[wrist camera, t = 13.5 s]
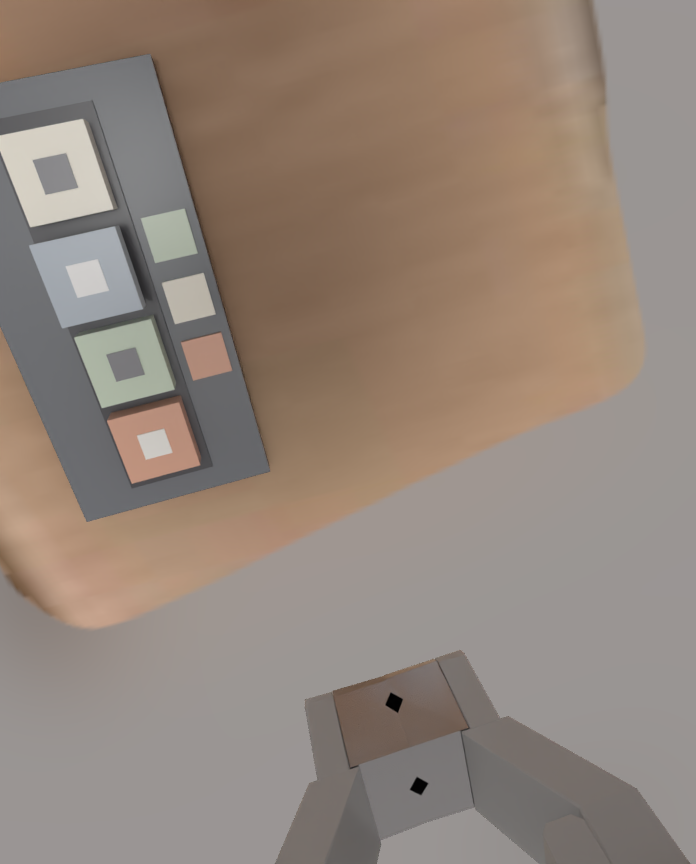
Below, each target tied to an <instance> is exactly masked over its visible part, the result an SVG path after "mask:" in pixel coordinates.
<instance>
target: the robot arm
mask: <svg viewBox="0 0 696 864" xmlns="http://www.w3.org/2000/svg"><path fill="white" fill-rule="evenodd" d="M305 711H306V716H307V722H308V728H309V734H310V740H311V746H312V751H313V757H314V763H315V769H316V774H317V781H314V782H311V783H309V785H308V787H307V790H306V792H305V795H304V797H303V799H302V801H301V804H300V806H299V808H298V811H297V813H296V816H295V818H294V820H293V823H292V825H291V827H290V830H289V832H288V834H287V837H286V839H285V841H284V844H283V846H282V848H281V851H280V853H279V855H278V858H277V860H276V863H275V864H377V860H378V856H379V851H380V847H381V841H380V840H383V839H385V838H388V837H391V836H393V835H396V834H398V833H401V832H403V831H406V830H409V829H411V828H414V827H416V826H419V825H421V824H424V823H427V822H429V821H433V820H436V819H439V818H442V817H445V816H448V815H452V814H455V813H458V812H461V811H464V810H467V809H471V808H474V807H475V809H476V810H477V811H478V812H479V813H480V814H481V815H482V816H483V817H485V818H486V819H487V820H488V821H489V822H491V823H492V824H493V825H494V826H495V827H497V828H498V829H499V830H500V831H501V832H502V833H504V834H505V835H506V836H507V837H508V838H509V839H511V840H512V841H513V842H514V843H515V844H517V845H518V846H519V847H520V848H521V849H522V850H524V851H525V852H526V853H527V854H528V855H530V856H531V857H532V858H533V859H534V860H535V861H537V862H538V863H539V864H690V862H689V861H688V860H687V859H686V857H685V855H684V854H683V853H682V851H681V850H680V848H679V847H678V846H677V844H676V843H675V842H674V840H673V839H672V837H671V836H670V835H669V833H668V832H667V830H666V829H665V827H664V826H663V825H662V823H661V822H660V820H659V819H658V818H657V816H656V815H655V813H654V812H653V811H652V809H651V808H650V806H649V805H648V804H647V802H646V801H645V799H644V798H643V797H642V795H641V794H640V792H639V791H638V790H637V788H635V787H633V786H631V785H630V784H628V783H626V782H624V781H622V780H621V779H619V778H617V777H615V776H614V775H612V774H610V773H608V772H606V771H605V770H603V769H601V768H599V767H598V766H596V765H594V764H592V763H590V762H589V761H587V760H585V759H583V758H582V757H580V756H578V755H576V754H574V753H573V752H571V751H569V750H568V749H566V748H564V747H562V746H560V745H559V744H557V743H555V742H553V741H551V740H550V739H548V738H546V737H544V736H543V735H541V734H539V733H537V732H536V731H534V730H532V729H530V728H529V727H527V726H525V725H523V724H521V723H519V722H518V721H516V720H514V719H513V718H511V717H509V716H507V717H504V718H500V717H499V715H498V713H497V711H496V710H495V708H494V706H493V704H492V702H491V700H490V699H489V697H488V695H487V693H486V692H485V690H484V688H483V686H482V684H481V682H480V681H479V679H478V677H477V675H476V673H475V671H474V670H473V668H472V666H471V664H470V662H469V661H468V659H467V657H466V655H465V653H463V652H462V651H461V650H459V651H456V652H453V653H449V654H446V655H443V656H440V657H438V658H435V659H432V660H428V661H426V662H422V663H419V664H417V665H413V666H411V667H407V668H404V669H402V670H398V671H395V672H392V673H390V674H386V675H384V676H382V677H379V678H375V679H372V680H368V681H365V682H361V683H358V684H355V685H351V686H348V687H344V688H341V689H337V690H334V691H333V693H332V692H330V693H326V694H323V695H319V696H316V697H312V698H309V699H305Z"/></svg>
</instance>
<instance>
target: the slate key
mask: <svg viewBox="0 0 696 864" xmlns="http://www.w3.org/2000/svg"><path fill="white" fill-rule="evenodd" d="M29 248H30V250H31V253H32V255H33V257H34V260H35V262H36V265H37V267H38V270H39V272H40V275H41V277H42V280H43V282H44V285H45V287H46V290H47V292H48V295H49V297H50V300H51V302H52V305H53V307H54V310H55V312H56V315H57V317H58V320H59V322H60V325H61V327H62V328H66V327H71V326H75V325H79V324H83V323H87V322H91V321H96V320H100V319H104V318H108V317H112V316H117V315H121V314H125V313H129V312H133V311H137V310H142V309H144V307H145V306H146V303H145V300H144V298H143V295H142V292H141V289H140V286H139V283H138V280H137V277H136V274H135V271H134V268H133V265H132V262H131V259H130V256H129V253H128V250H127V247H126V244H125V241H124V239H123V236H122V233H121V230H120V227H119V225H118V226H114V227H109V228H105V229H100V230H96V231H91V232H87V233H82V234H78V235H73V236H69V237H64V238H60V239H55V240H51V241H46V242H42V243H37V244H33V245H29Z"/></svg>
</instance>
